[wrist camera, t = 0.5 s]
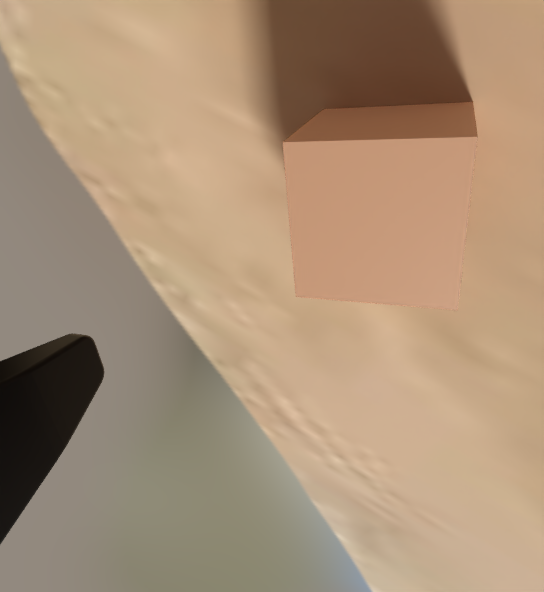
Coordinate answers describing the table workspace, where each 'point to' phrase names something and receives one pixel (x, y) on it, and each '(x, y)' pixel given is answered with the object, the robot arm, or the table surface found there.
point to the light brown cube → (381, 203)
